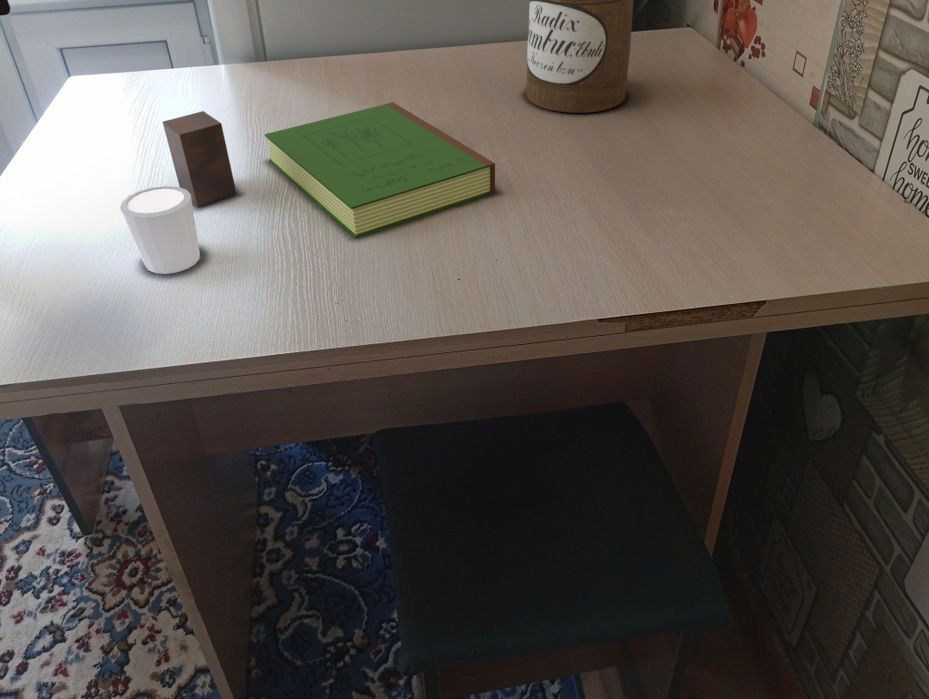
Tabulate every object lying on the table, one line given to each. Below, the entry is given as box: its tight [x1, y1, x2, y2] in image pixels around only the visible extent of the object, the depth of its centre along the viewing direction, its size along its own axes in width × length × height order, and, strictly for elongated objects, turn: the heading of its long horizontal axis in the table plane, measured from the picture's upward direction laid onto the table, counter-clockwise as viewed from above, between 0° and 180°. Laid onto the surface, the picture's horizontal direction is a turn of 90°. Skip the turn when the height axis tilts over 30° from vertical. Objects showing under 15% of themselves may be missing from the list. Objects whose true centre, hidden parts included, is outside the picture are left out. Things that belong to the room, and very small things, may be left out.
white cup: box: [119, 185, 201, 275], centre depth 81 cm, size 7×7×7 cm
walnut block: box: [162, 110, 238, 208], centre depth 92 cm, size 5×5×9 cm
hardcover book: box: [264, 101, 496, 239], centre depth 97 cm, size 25×19×4 cm
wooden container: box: [526, 0, 634, 114], centre depth 112 cm, size 15×15×22 cm
